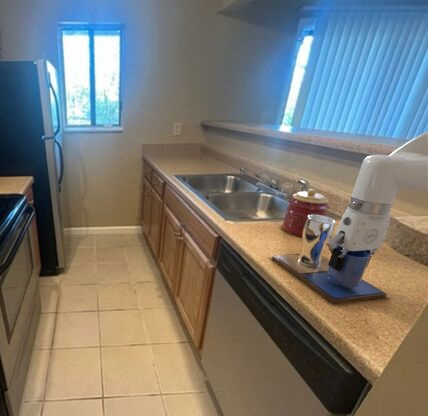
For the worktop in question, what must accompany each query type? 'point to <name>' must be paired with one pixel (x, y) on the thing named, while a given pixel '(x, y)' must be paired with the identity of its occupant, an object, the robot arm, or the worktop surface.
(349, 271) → the blue tumbler
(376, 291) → the sorting board
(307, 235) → the beer glass
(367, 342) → the worktop surface
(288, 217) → the kitchen canister
